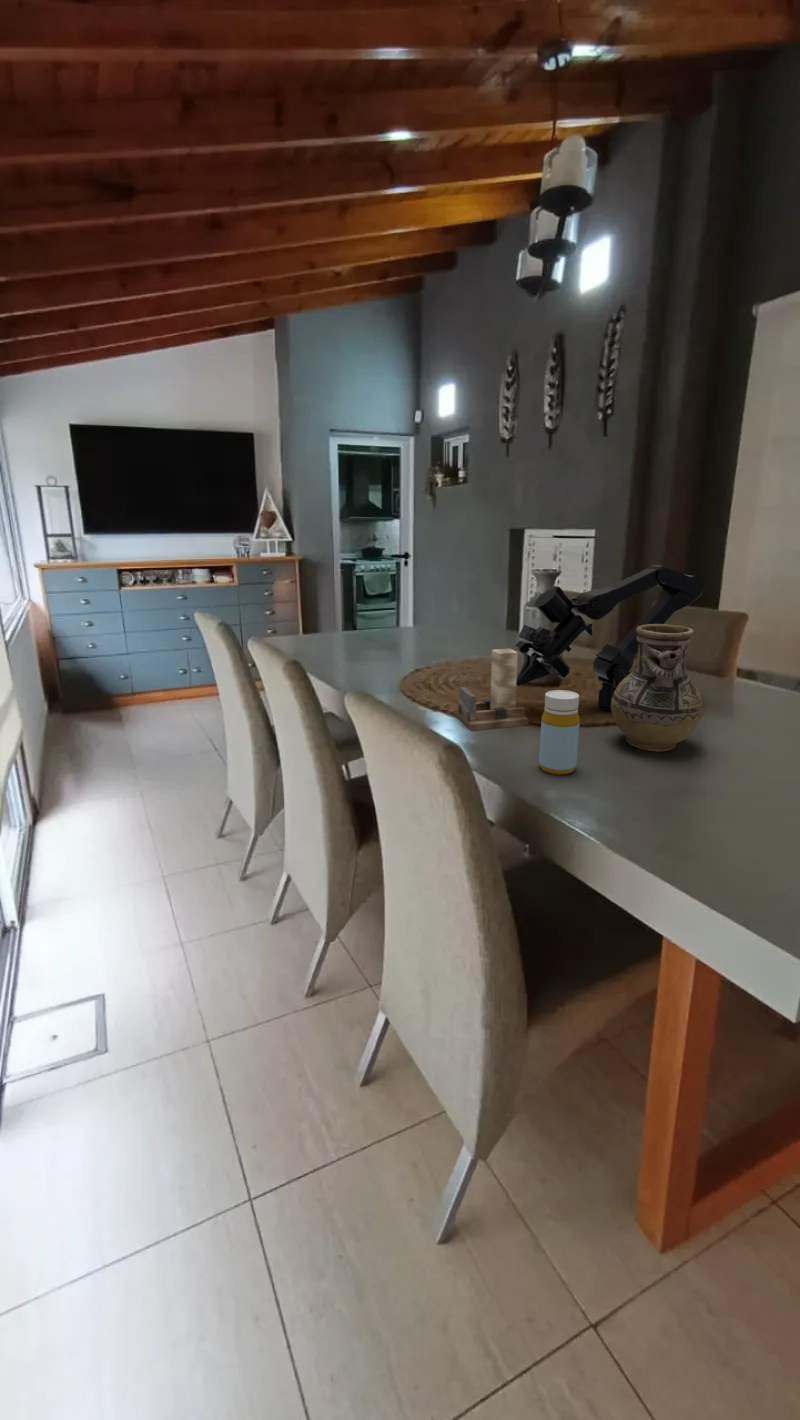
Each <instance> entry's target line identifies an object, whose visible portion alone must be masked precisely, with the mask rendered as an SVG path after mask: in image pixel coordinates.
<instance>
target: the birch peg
mask: <svg viewBox="0 0 800 1420" xmlns="http://www.w3.org/2000/svg"><path fill="white" fill-rule="evenodd" d="M518 653H519V651H515V650H514V649H512V648H499V649H497V648H496V649H491V670H490V696H489V697H490V710H493V709H494V708H501V707H504V708H515V707H516V700H517V697H516V696H517V685H516V681H517V677H518V659H519V658H518V656H519V655H518Z"/></svg>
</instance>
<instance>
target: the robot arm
mask: <svg viewBox="0 0 800 1420" xmlns="http://www.w3.org/2000/svg"><path fill="white" fill-rule="evenodd" d="M703 584H704V583H703V581H702V579H701V578H700V577H699V576H696V575H688V574H683V573H681V572H678V571H675V570H673V569H671V568H669V567H668V566H666V565H659V564H652V565H650V566H648V567H647V568H645V569H643V570H641V571H639V572H637V573H635V574H632V575H631V576H629V577H627V578H625V579H622V580H620V581H618V582H616V583H614V584H611V585H610V586H607V587H603V588H597V589H596V588H595V589H592V590H588V591H585V592H581V593H580V594H578V595H577V596H576V597H574V598H568V596H567V595H566V594H565V593H564V591H563V589H562V587H560V586H557V585H554V586H553V587H552V588H551V589H548V590H546V591H545V592H543V593H541V594H539V596H538V597H537V598H536V600H535V602H534V606H535V608H536V609H537V610H538V611H539V613H541V614H542V615H543V617H545V618H546V620H547V621H548V622H549V623H550V624H555V623H556V624H555V626H553V628H552V629H551V630H550V629H546V628H544V627H542V626H538V627H537V628H536V629H535V628H534V627H531V626H530V625H529V626H528V625H527V624H524V625H523V626H522V629H521V631H520V633H519V635H518V638H520V640H519V641H518V642H517V643H516V644H515V645H514V647H515V648H516V650H518V652H520V654H521V655H523V665H522V666H521V669H520V671H519V673H518V674H517V681H516V686H518V687H520V686H523V685H526V684H527V683H530V682H532V681H536V680H538V679H541V678H543V677H546V676H551V670H552V669H554V671H555V672H556V673H557V674H556V675H557V677H559V678H561V679H562V680H565V679H566V677H567V676H568V675H570V669H571V668H570V666H569V665H568V664H567V663H566V662H565V661H564V660H563V658H561V656H562V655H563V654H564V653H565V652H567V653H570V651H571V650H572V648H571V645H572V644H573V643H574V642H575V641H576V640H577V639H578V638H579V637H580V636H581V635H582V634H585V635H589V636H593V623H592V622H588V621H585V619H584V618H586V619H590V620H593V621H597V620H601V619H602V618H604V617H605V616H607V615H609V614H610V613H611V612H613V610H614V609H615V608H616V606H618V605H619V604H620V603H623V602H624V601H626V600H628V599H630V598H633V597H634V596H637V595H638V594H641V593H643V592H645V591H647V590H649V589H652V588H654V587H655V586H657V587H660V588H661V589H660V593H659V599H658V600H657V601H656V602H655V604H654V605H652V607H651V608H649V610H648V611H647V612H646V613H645V614H644V616H642V618H641V619H640V620H639V621H638V622H637V623H636V624H635V625H634V626H633V628H631V630H629V631H628V633H627V634H626V635H625V637H623V638H622V639H621V640H620V641H619V642H618V643H617V644H614V645H613V644H611V643H606V644H605V645H604V646H603V648H602V649H601V650H600V651H599V652H598V653H596V654H595V657H596V658H595V659H594V660H593V662H592V665H593V666H592V667H593V672H594V674H596V676H597V679H598V681H599V682H602V683H601V687H600V688H599V690H598V701H597V706H598V707H599V709H600V710H599V709H598V710H599V711H604V710H611V700H612V697H613V694H614V692H615V690H616V688H617V686H618V685H619V684H620V682H621V681H622V680H623V679H624V678H625V677H626V676H628V675H629V674H630V673H631V671H630V670H631V669H632V668H633V665H634V661H635V657H636V655H638V644H639V642H638V641H637V636H638V633H637V632H636V629H637V627H638V626H641V625H645V624H666V622H668V620H669V619H670V618H671V617H672V616H673V615H674V614H675V613H676V612H677V611H680V610H682V609H683V608H686V607H688V606H690V605H691V604H692V603H693V602H695V601H696V600H697V599H699V598H700V597H701V595H702V594H703V591H704V588H703V587H704V585H703ZM574 612H576V614H575V613H574ZM583 617H584V618H583ZM521 639H523V640H521Z"/></svg>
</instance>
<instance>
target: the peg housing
mask: <svg viewBox="0 0 800 1420" xmlns="http://www.w3.org/2000/svg"><path fill="white" fill-rule="evenodd" d="M458 691H459V693H458V694H459V695H458V697H459V699H458V703H457V708H455V709H454V713H453V714H454V715H453V716H455V717H456V718H457V719H458V720H459V721H460V722H461V723H462V724H463V725H464V726H466V728H468V729H469V730H470V731H472V732H474V731H484V730H494V729H504V728H513V727H523V726H529V718H528V717H527V716H525V715H526V713H525V712H526V708H525V707H524V706H515V708H504V707H501V708H494V709H493V710H490V699H483V701H477V695H475V694H474V693H473V692H472V691H470V690H469V689H467V688H466V687H465V686H463V687H459V690H458Z"/></svg>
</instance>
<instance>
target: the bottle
mask: <svg viewBox="0 0 800 1420" xmlns="http://www.w3.org/2000/svg"><path fill="white" fill-rule="evenodd" d="M544 696H545V697H544V711H543V713H542V715H541V724H540V725H541V727H540V737H539V738H540V740H539V743H540V744H539V757H538V762H539V763H538V765H539V767H540V769H541V770H542V771H543V772H545V773H546V774H550V773H551V774H550V775H555V774H557V775H556V776H558V775H559V776H563V775H564V776H565V774H566V775H569V773H570V774H571V773H573V772H574V771H575V770H576V769H577V764H578V763H577V762H578V751H579V750H578V749H579V748H578V747H579V739H580V737H579V736H580V735H579V734H580V715H579V706H580V705H579V703H580V702H579V701H580V695H579V694H578V693H577V692H574V691H570V690H563V689H561V690H560V689H557V690H555V689H554V690H549V691H547V692H545V694H544Z"/></svg>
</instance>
